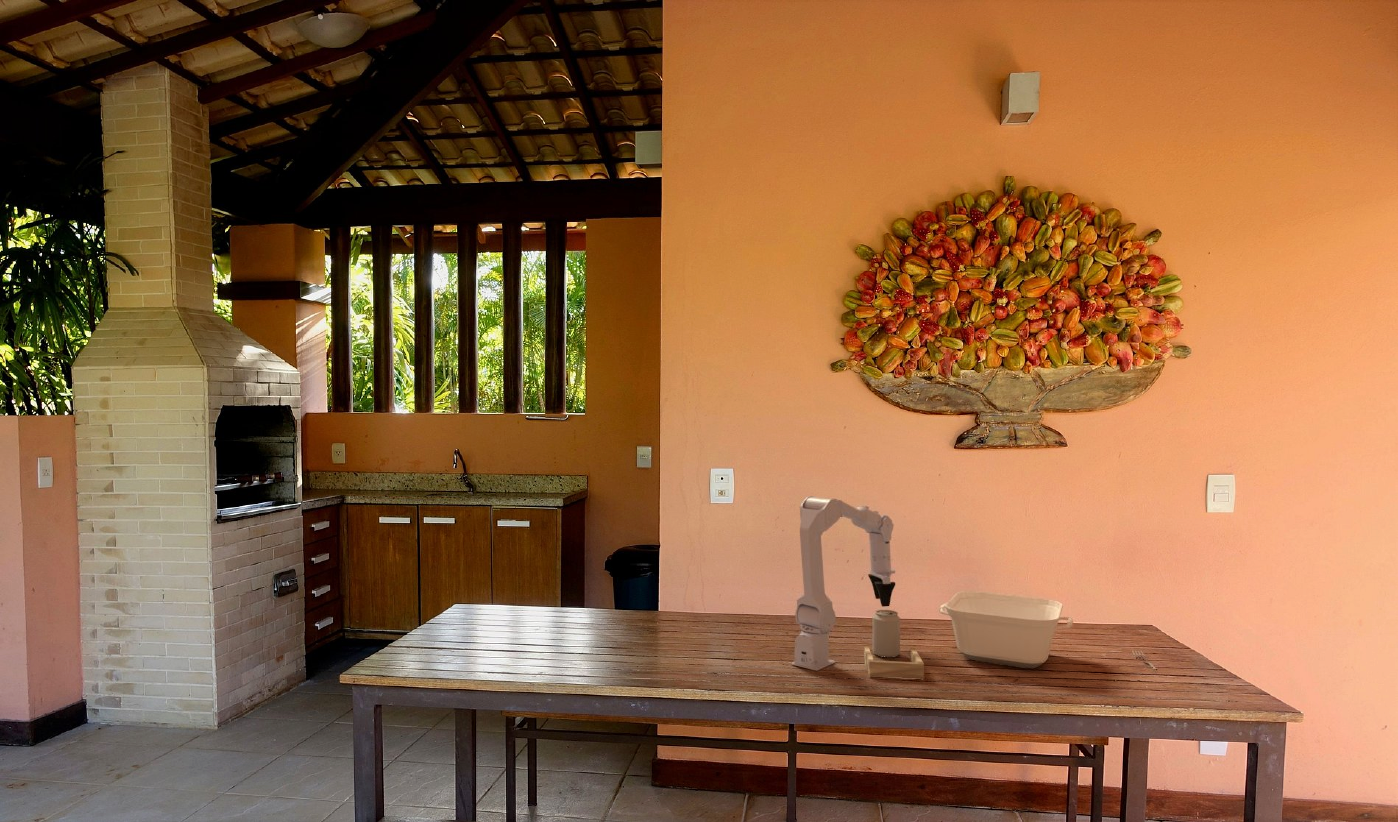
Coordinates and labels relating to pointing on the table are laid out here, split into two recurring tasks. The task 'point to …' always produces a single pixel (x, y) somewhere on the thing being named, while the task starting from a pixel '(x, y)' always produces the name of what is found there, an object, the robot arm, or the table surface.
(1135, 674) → the table surface
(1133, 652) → the fork
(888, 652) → the can
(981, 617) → the pot
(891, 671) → the tray
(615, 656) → the table surface
